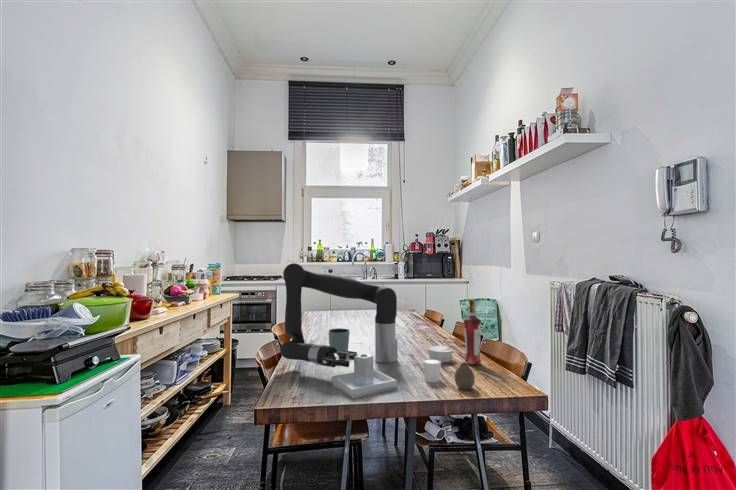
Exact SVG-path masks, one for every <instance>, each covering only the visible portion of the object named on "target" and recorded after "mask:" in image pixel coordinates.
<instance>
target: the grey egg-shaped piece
mask: <svg viewBox="0 0 736 490" xmlns="http://www.w3.org/2000/svg"><path fill="white" fill-rule="evenodd" d="M475 380H476V379H475V374H474V371H473V369H472V368H471V367H470V365H469V364H468V363H467V362H460V365H459V366H458V367H457V369H456V370H455V372H454V383H455V385H456V387H458V389H459V390H462V391H469V389H470V390H471V389H473V387H474V385H475V382H476V381H475Z"/></svg>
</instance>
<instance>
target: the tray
mask: <svg viewBox="0 0 736 490" xmlns="http://www.w3.org/2000/svg"><path fill="white" fill-rule="evenodd" d="M331 385H332V386H333V387H335V388H336V389H338V390H339V391H341V392H342V393H343V394H345V395H347V397H350V399H356V398H357V399H358V398H361V397H365V396H369V395H374V394H379V393H383V392H388V391H392V390H397V389H398V379H395V378H393V377H391V376H390V375H387V374H385V373H383V372H381V371H379V370H377V369H375V368H373V384H369V385H365V386H359V385H355V384H354V371H353V372H347V373H342V374H341V373H340V374H337V375H333V376H331Z"/></svg>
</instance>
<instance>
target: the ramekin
mask: <svg viewBox="0 0 736 490" xmlns="http://www.w3.org/2000/svg"><path fill="white" fill-rule="evenodd" d="M427 351H428V356H429V359H435V360H439V361H441V364H445V363H444V362H447V363H449V362H451V361H452V356H453V353H454V350H453V348H452V347H450V346H445V345H432V346H428V348H427Z"/></svg>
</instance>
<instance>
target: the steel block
mask: <svg viewBox="0 0 736 490" xmlns="http://www.w3.org/2000/svg"><path fill="white" fill-rule="evenodd" d="M373 369H374V355H373V354H368V353H364V352H363V353H359V354H357V356H354V360H353V370H354V371H353V372H354V384H355V385H359V386H365V385H369V384H373Z"/></svg>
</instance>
